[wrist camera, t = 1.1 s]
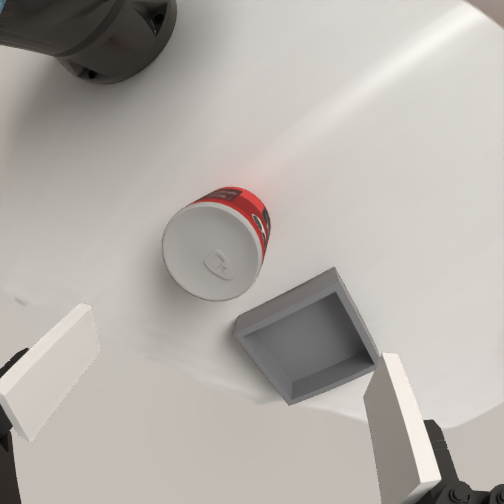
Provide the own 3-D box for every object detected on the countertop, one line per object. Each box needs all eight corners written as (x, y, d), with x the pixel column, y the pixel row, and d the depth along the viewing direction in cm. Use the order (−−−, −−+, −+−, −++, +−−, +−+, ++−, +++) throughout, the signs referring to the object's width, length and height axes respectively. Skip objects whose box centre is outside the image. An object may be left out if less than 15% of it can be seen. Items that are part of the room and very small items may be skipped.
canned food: (248, 269, 35) (229, 319, 25) (187, 231, 35) (145, 266, 24) (286, 212, 33) (283, 242, 22) (220, 172, 32) (187, 183, 22)
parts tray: (238, 315, 37) (232, 333, 33) (334, 266, 34) (339, 281, 30) (289, 385, 40) (288, 405, 36) (376, 346, 36) (383, 366, 33)
